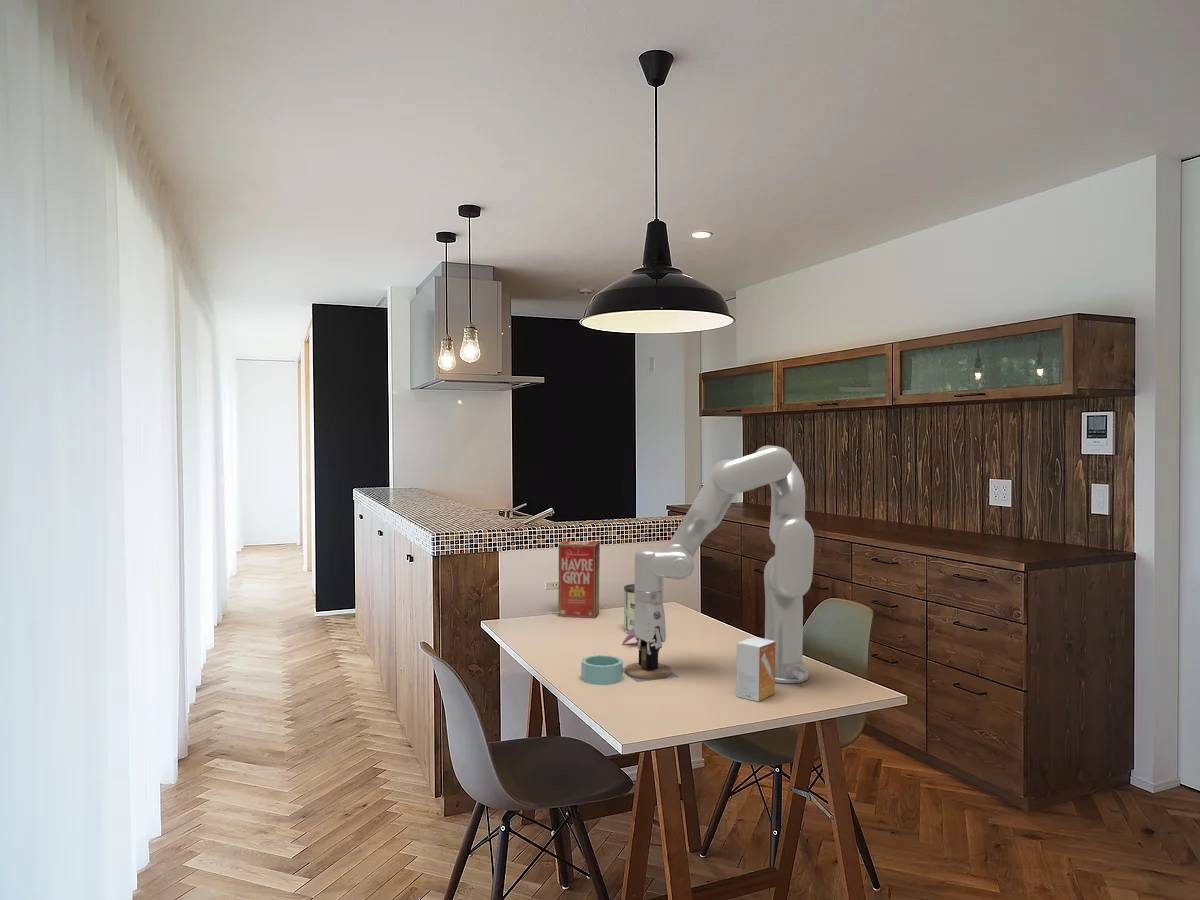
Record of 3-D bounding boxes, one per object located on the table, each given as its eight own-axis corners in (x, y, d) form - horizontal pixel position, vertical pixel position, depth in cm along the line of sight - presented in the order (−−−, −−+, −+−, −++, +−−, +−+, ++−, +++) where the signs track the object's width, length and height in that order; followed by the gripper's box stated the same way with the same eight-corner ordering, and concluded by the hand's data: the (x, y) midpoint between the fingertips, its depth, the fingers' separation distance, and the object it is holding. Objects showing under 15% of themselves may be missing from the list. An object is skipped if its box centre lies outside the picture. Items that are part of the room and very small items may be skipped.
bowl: (628, 684, 200) (628, 664, 200) (590, 688, 196) (591, 668, 196) (612, 672, 209) (612, 653, 209) (576, 676, 206) (576, 657, 205)
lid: (679, 676, 204) (679, 651, 204) (637, 681, 200) (637, 655, 200) (658, 663, 216) (658, 639, 215) (617, 668, 211) (617, 644, 211)
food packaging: (557, 616, 273) (557, 543, 272) (562, 610, 282) (562, 540, 281) (596, 618, 271) (596, 544, 270) (599, 612, 280) (600, 541, 280)
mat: (679, 678, 205) (679, 676, 204) (637, 684, 200) (637, 681, 200) (658, 666, 216) (658, 663, 216) (617, 670, 211) (617, 668, 211)
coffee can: (655, 627, 259) (655, 583, 259) (656, 635, 249) (657, 589, 249) (623, 626, 260) (623, 583, 259) (623, 634, 249) (624, 589, 249)
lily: (660, 643, 243) (646, 614, 245) (672, 637, 232) (657, 607, 235) (625, 659, 239) (612, 629, 241) (636, 654, 228) (622, 622, 231)
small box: (759, 702, 187) (759, 647, 187) (735, 696, 191) (736, 642, 191) (775, 694, 193) (776, 640, 193) (752, 688, 197) (753, 636, 197)
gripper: (676, 601, 201) (676, 674, 201) (647, 589, 216) (647, 657, 217) (649, 604, 198) (649, 677, 199) (622, 591, 214) (622, 660, 214)
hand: (648, 666), depth 208 cm, fingers closed on lid, 3 cm apart
